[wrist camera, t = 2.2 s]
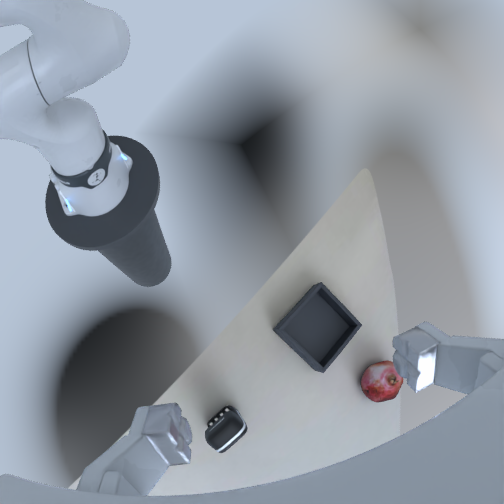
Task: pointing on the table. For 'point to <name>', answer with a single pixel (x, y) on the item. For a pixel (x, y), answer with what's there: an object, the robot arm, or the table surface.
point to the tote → (318, 327)
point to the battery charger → (225, 429)
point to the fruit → (381, 381)
